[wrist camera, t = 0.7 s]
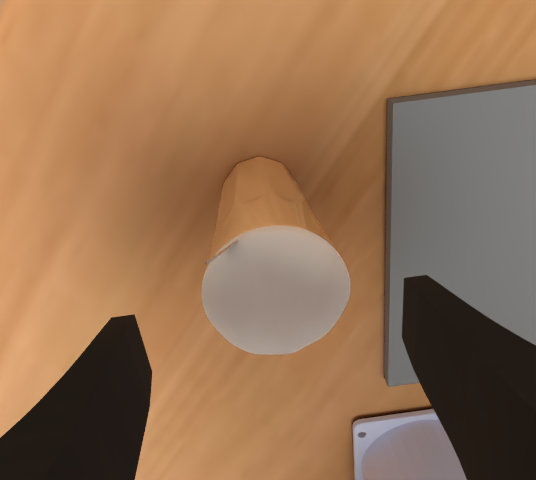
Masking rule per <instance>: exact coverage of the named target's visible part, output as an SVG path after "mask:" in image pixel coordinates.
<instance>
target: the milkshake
mask: <svg viewBox="0 0 536 480" xmlns="http://www.w3.org/2000/svg"><path fill="white" fill-rule="evenodd" d="M206 264H207V266H206V270H205V274H204V277H203V282H202V292H201V293H202V303H203V308H204V311H205V314H206V316H207V318H208V319H209V321H210V322H211V324H212V325H213V326H214V327H215V329H216V330H217V331H218V332H219V333H220V334H221V335H222V336H223V337H224V338H225V339H226V340H227V341H228V342H230V343H231V344H233V345H234V346H236V347H238V348H239V349H241V350H244V351H246V352H249V353H253V354H260V355H283V354H291V353H294V352H297V351H299V350H301V349H302V348H304V347H306V346H308V345H310V344H312V343H314V342H316V341H317V340H319V339H321V338H322V337H323V336H325V335H326V334H327V333H328V332H329V331H330V330H331V329H332V328H333V326H334V325H335V324H336V322H337V321H338V320H339V318H340V316H341V315H342V313H343V311H344V309H345V307H346V305H347V303H348V300H349V297H350V290H351V284H350V277H349V273H348V270H347V268H346V265H345V263H344V261H343V260H342V258H341V256H340V255H339V253H338V252H337V250H336V249H335V247H334V246H333V244H332V242H331V241H330V239H329V238H328V236H327V235H326V233H325V231H324V230H323V228H322V227H321V225H320V224H319V222H318V221H317V220H316V218H315V216H314V214H313V213H312V211H311V209H310V207H309V205H308V204H307V202H306V200H305V198H304V196H303V194H302V193H301V191H300V189H299V187H298V185H297V184H296V182H295V180H294V179H293V178H292V176H291V175H290V173H289V172H288V171H287V169H286V168H285V167H284V165H283V164H282V163H281V162H277V161H274V160H271V159H267V158H264V157H261V156H259V157H256V158H253V159H250V160H246V161H243V162H240V163H238V164H237V165H236V166H235V168H234V169H233V170H232V172H231V173H230V174H229V176H228V177H227V178H226V180H225V181H224V184H223V190H222V195H221V200H220V206H219V211H218V216H217V222H216V227H215V233H214V237H213V241H212V246H211V250H210V254H209V258H208V261H207V262H206Z"/></svg>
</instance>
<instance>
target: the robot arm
mask: <svg viewBox="0 0 536 480" xmlns="http://www.w3.org/2000/svg"><path fill="white" fill-rule="evenodd" d="M402 339H403V342H404V345H405V348H406V351H407V354H408V356H409V359H410V362H411V364H412V367H413V370H414V372H415V374H416V376H417V378H418V380H419V382H420V384H421V386H422V388H423V390H424V392H425V394H426V396H427V397H428V399H429V401H430V403H431V405H432V407H433V409H428V410H421V411H414V412H407V413H400V414H392V415H385V416H378V417H371V418H364V419H358V420H356V421H355V422H354V423H353V426H352V428H353V457H354V480H536V345H534V344H532V343H531V342H529V341H527V340H525V339H523V338H521V337H520V336H518V335H516V334H515V333H513V332H511V331H510V330H508V329H506V328H505V327H503V326H501V325H500V324H498V323H496V322H495V321H493V320H492V319H490V318H488V317H487V316H485V315H484V314H482V313H481V312H479V311H478V310H476V309H475V308H473V307H472V306H470V305H469V304H468V303H466V302H465V301H463V300H462V299H460V298H459V297H457V296H456V295H455V294H453V293H452V292H450V291H449V290H448V289H446V288H445V287H443V286H442V285H441V284H439V283H438V282H436V281H435V280H433V279H432V278H431V277H429V276H428V275H422V276H414V277H407V278H404V288H403V316H402ZM151 380H152V370H151V367H150V363H149V360H148V357H147V354H146V350H145V347H144V344H143V341H142V337H141V334H140V331H139V328H138V324H137V321H136V318H135V315H128V316H120V317H113V318H111V319H110V320H109V321H108V322H107V324H106V325H105V326H104V327H103V329H102V330H101V331H100V332H99V333H98V335H97V336H96V337H95V338H94V340H93V341H92V342H91V343H90V345H89V346H88V347H87V348H86V349H85V351H84V352H83V353H82V354H81V356H80V357H79V358H78V359H77V360H76V361H75V363H74V364H73V365H72V366H71V367H70V368H69V370H68V371H67V372H66V373H65V374H64V375H63V376H62V378H61V379H60V380H59V381H58V382H57V383H56V384H55V385H54V386H53V387H52V388H51V389H50V390H49V392H48V393H47V394H46V395H45V396H44V397H43V398H42V399H41V400H40V401H39V402H38V403H37V404H36V405H35V406H34V407H33V408H32V409H31V410H30V411H29V412H28V413H27V414H26V415H25V416H24V417H23V418H22V419H21V420H20V421H18V422H17V423H16V424H15V425H14V426H13V427H12V428H11V429H10V430H9V431H8V432H6V433H5V434H4V435H3V436H2V437H1V438H0V480H134V479H135V475H136V470H137V465H138V460H139V456H140V451H141V446H142V441H143V437H144V432H145V427H146V422H147V417H148V412H149V407H150V395H151ZM360 432H361V433H360Z"/></svg>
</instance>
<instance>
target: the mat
mask: <svg viewBox="0 0 536 480" xmlns="http://www.w3.org/2000/svg"><path fill="white" fill-rule="evenodd" d="M422 275H428V276H429V277H431V278H432V279H433V280H435V281H436V282H438V283H439V284H441V285H442V286H443V287H445V288H446V289H448V290H449V291H450V292H452V293H453V294H455V295H456V296H457V297H459V298H460V299H462V300H463V301H465V302H466V303H468V304H469V305H470V306H472V307H473V308H475V309H476V310H478V311H479V312H481V313H482V314H484V315H485V316H487V317H488V318H490V319H492V320H493V321H495V322H496V323H498V324H500V325H501V326H503V327H505V328H506V329H508V330H510V331H511V332H513V333H515V334H516V335H518V336H520V337H521V338H523V339H525V340H527V341H529V342H531V343H532V344H534V345H536V80H529V81H521V82H513V83H506V84H498V85H490V86H483V87H475V88H467V89H460V90H452V91H444V92H436V93H429V94H421V95H413V96H406V97H398V98H390V99H387V175H386V259H385V343H384V378H385V380H386V383H387V385H388V387H392V386H399V385H406V384H413V383H420V382H419V380H418V378H417V376H416V374H415V372H414V370H413V367H412V364H411V362H410V359H409V356H408V354H407V351H406V348H405V345H404V342H403V339H402V316H403V288H404V278H407V277H414V276H422Z"/></svg>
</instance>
